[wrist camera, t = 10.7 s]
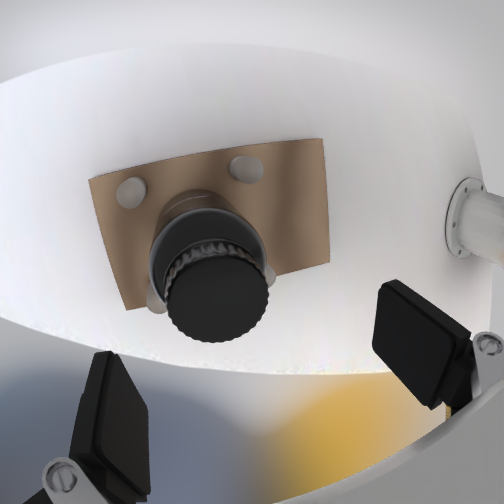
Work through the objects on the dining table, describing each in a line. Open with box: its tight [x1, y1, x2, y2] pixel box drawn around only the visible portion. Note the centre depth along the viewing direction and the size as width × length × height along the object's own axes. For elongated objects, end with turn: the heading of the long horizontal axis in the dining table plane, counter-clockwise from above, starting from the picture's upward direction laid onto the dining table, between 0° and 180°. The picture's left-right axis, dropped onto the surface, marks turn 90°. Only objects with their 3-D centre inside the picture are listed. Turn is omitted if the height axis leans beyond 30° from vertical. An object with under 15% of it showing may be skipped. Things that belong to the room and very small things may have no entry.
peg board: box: [89, 139, 330, 314], centre depth 23 cm, size 20×12×4 cm, turn 97°
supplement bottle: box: [148, 189, 269, 343], centre depth 18 cm, size 7×7×12 cm
